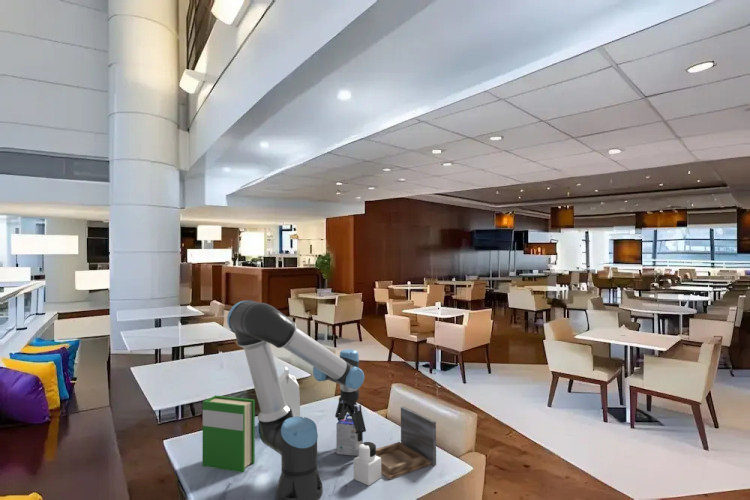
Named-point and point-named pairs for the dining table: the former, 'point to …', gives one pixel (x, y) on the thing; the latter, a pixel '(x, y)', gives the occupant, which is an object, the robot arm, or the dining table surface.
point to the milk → (290, 391)
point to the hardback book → (228, 433)
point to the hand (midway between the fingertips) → (350, 442)
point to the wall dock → (410, 446)
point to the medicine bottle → (367, 464)
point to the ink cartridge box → (346, 437)
